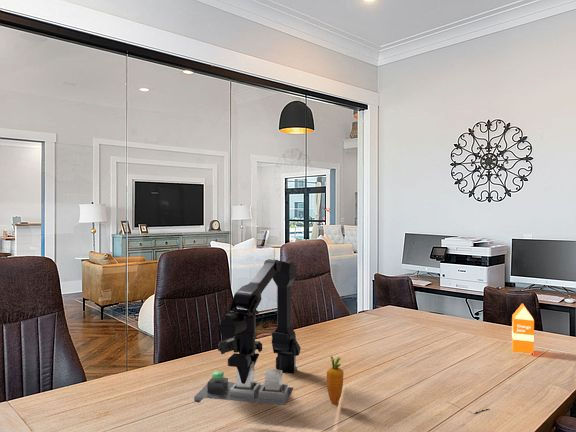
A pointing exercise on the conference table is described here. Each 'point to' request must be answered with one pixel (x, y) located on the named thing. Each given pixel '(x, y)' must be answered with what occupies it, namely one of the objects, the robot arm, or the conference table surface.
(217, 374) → the button
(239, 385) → the aluminium block
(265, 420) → the conference table surface
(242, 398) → the dark grey fixture board
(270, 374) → the block
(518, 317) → the orange juice
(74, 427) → the conference table surface
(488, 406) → the conference table surface
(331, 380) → the carrot
